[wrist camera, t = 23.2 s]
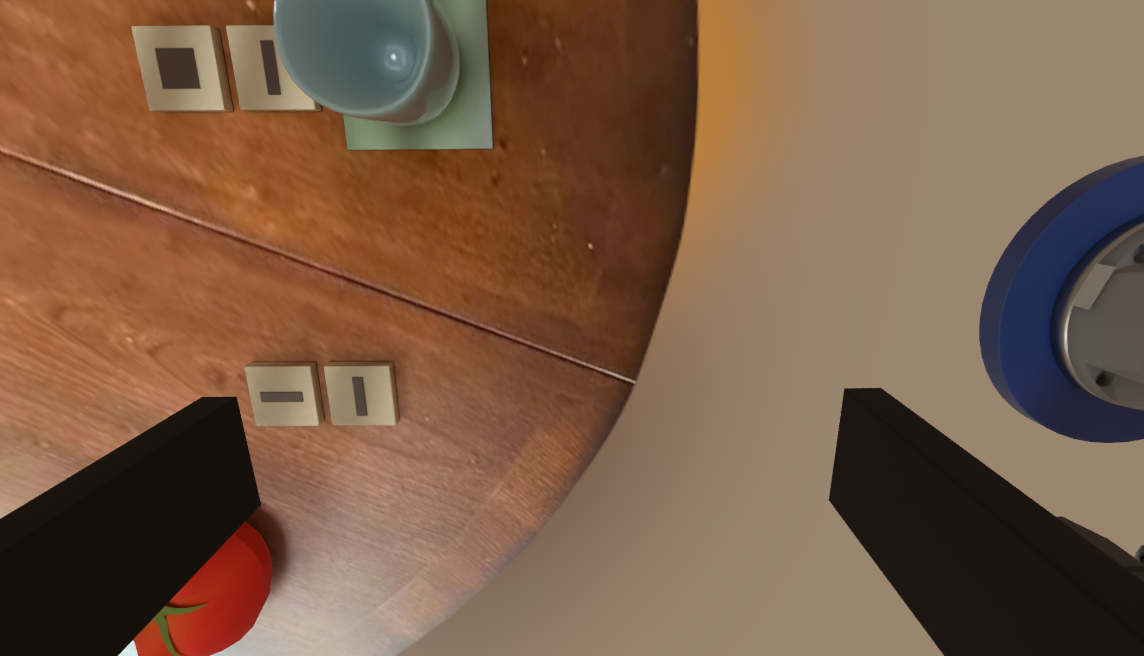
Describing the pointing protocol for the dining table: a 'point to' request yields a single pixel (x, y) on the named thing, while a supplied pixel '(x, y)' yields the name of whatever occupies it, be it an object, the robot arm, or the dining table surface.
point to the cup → (371, 56)
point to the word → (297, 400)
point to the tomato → (213, 601)
